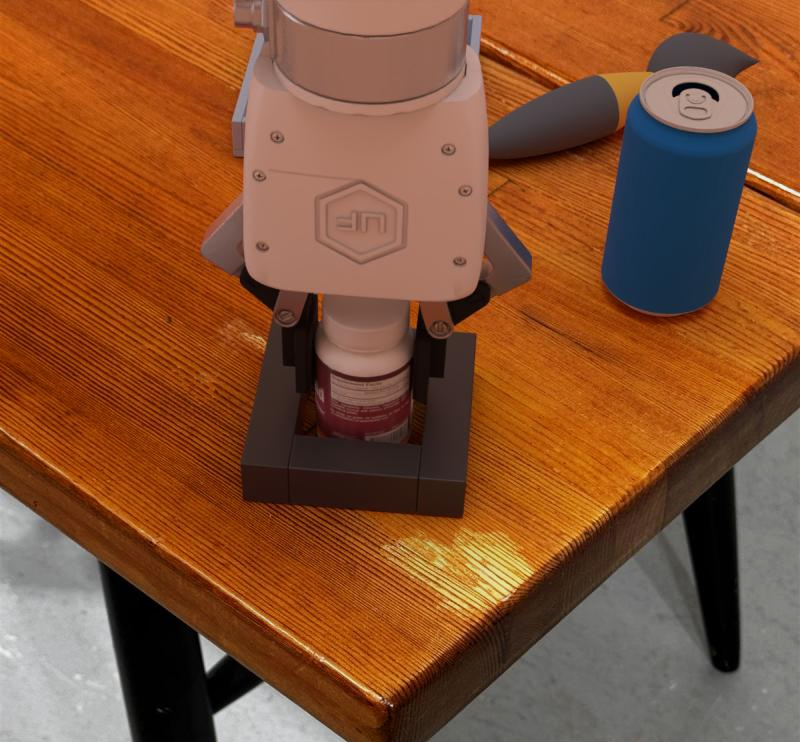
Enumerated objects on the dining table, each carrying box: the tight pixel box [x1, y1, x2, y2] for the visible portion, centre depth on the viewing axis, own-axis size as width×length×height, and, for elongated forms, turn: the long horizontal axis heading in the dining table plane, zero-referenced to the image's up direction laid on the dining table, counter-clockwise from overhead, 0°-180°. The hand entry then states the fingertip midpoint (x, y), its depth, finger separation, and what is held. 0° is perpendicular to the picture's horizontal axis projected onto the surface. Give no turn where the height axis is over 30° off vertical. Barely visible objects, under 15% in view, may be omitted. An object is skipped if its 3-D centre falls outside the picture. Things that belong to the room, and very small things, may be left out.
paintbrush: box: [488, 31, 761, 160], centre depth 89 cm, size 20×5×5 cm, turn 122°
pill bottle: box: [314, 294, 415, 444], centre depth 69 cm, size 5×5×8 cm
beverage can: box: [600, 67, 758, 318], centre depth 76 cm, size 6×6×12 cm
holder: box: [239, 317, 478, 519], centre depth 71 cm, size 10×10×2 cm
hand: (364, 375), depth 69 cm, fingers closed on pill bottle, 4 cm apart
